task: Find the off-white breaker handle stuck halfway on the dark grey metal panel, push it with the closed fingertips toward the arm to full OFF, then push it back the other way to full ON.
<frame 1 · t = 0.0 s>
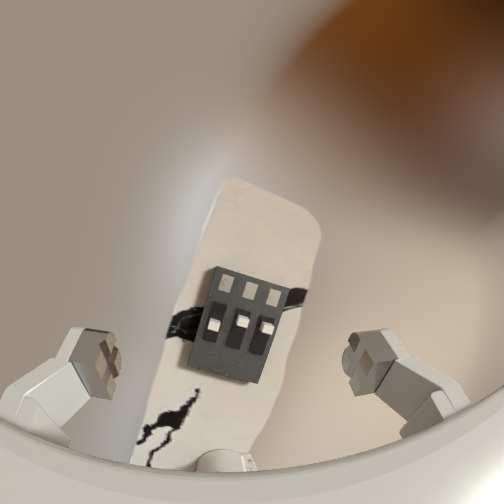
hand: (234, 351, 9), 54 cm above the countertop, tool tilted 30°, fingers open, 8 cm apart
tripped breaker: (214, 324, 56), point 6 cm above the countertop, slide at 0.0 cm
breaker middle: (242, 321, 57), point 6 cm above the countertop, slide at 2.5 cm
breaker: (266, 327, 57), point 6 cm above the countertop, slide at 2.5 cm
breaker panel: (237, 325, 62), on the countertop
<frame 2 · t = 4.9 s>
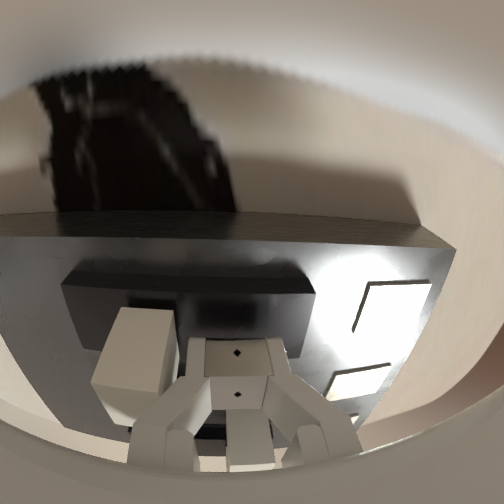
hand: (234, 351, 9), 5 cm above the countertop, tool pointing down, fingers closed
tripped breaker: (142, 368, 7), point 6 cm above the countertop, slide at -1.1 cm, touching gripper
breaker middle: (247, 442, 10), point 6 cm above the countertop, slide at 2.5 cm
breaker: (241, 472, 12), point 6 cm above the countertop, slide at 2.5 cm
breaker panel: (196, 352, 15), on the countertop
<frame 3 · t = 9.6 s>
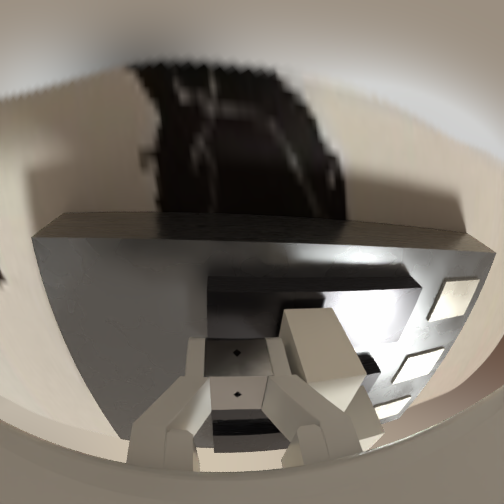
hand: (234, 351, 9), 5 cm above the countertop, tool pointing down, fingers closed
tripped breaker: (314, 362, 8), point 6 cm above the countertop, slide at -1.0 cm, touching gripper
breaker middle: (351, 422, 11), point 6 cm above the countertop, slide at 2.5 cm
breaker panel: (283, 349, 16), on the countertop
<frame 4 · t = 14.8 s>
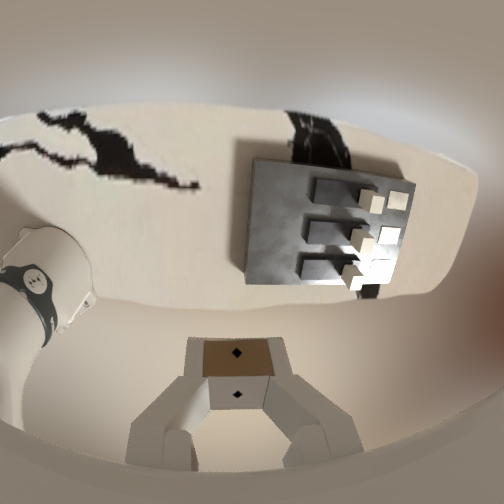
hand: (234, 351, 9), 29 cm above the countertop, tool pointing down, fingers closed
tripped breaker: (371, 201, 32), point 6 cm above the countertop, slide at 2.6 cm
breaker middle: (362, 241, 34), point 6 cm above the countertop, slide at 2.5 cm
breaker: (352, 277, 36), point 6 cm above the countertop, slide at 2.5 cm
breaker panel: (329, 224, 39), on the countertop
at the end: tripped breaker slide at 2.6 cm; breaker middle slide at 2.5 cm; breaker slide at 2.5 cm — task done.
